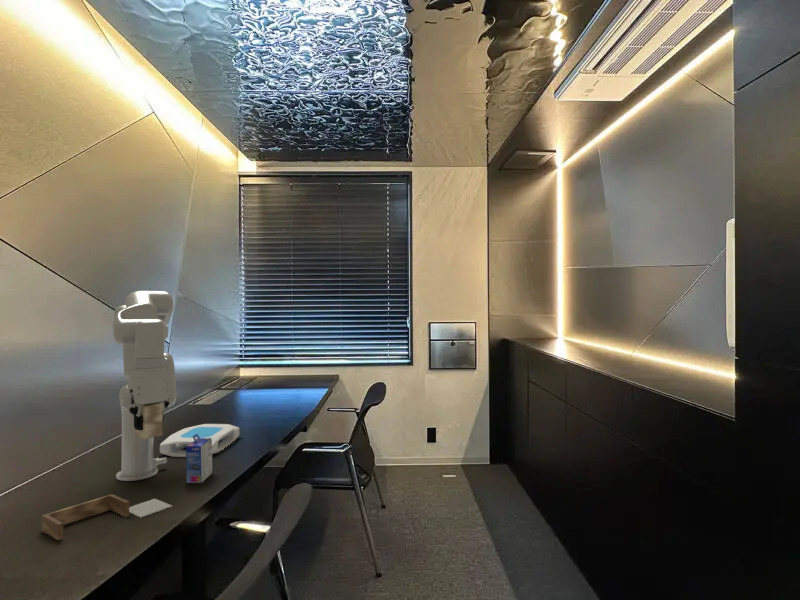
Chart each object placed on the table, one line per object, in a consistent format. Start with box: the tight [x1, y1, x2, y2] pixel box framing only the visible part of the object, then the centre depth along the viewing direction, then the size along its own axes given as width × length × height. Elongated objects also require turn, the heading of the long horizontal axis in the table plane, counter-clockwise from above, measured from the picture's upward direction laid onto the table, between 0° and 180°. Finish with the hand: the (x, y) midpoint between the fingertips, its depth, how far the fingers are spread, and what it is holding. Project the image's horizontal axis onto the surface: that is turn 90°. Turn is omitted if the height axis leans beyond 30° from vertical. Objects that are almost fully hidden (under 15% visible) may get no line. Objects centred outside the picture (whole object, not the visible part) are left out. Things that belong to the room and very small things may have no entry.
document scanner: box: [159, 423, 240, 458], centre depth 198 cm, size 21×28×6 cm
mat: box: [129, 498, 173, 519], centre depth 137 cm, size 9×9×1 cm
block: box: [135, 403, 164, 439], centre depth 137 cm, size 5×5×9 cm
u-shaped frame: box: [41, 493, 130, 541], centre depth 127 cm, size 17×10×4 cm, turn 147°
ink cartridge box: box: [185, 434, 213, 484], centre depth 161 cm, size 10×6×14 cm, turn 2°
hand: (148, 426), depth 137 cm, fingers closed on block, 5 cm apart
